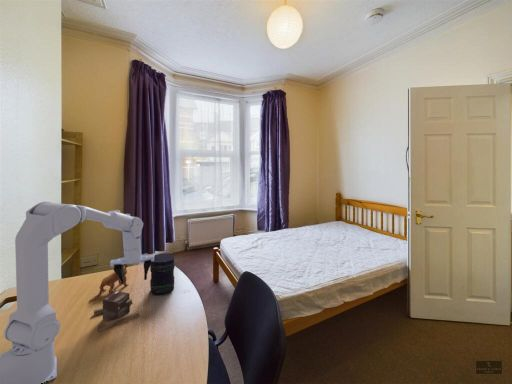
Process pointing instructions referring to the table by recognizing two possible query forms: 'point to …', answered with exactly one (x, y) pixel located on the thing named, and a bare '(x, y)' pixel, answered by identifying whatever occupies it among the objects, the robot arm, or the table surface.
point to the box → (116, 305)
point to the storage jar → (162, 274)
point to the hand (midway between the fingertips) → (134, 280)
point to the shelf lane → (116, 321)
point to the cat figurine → (111, 282)
